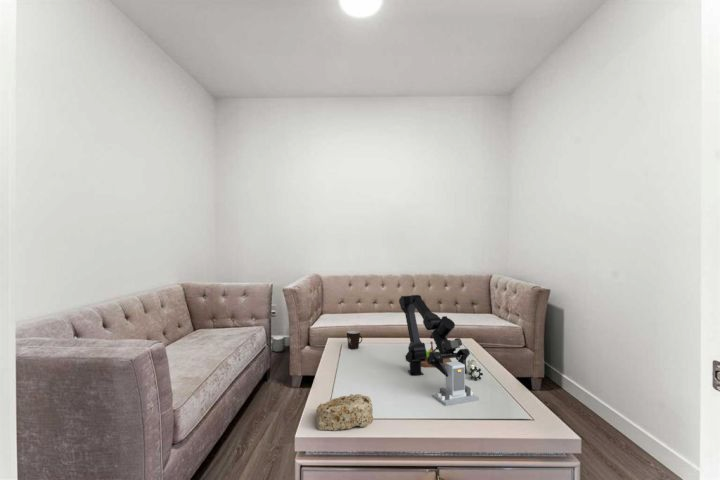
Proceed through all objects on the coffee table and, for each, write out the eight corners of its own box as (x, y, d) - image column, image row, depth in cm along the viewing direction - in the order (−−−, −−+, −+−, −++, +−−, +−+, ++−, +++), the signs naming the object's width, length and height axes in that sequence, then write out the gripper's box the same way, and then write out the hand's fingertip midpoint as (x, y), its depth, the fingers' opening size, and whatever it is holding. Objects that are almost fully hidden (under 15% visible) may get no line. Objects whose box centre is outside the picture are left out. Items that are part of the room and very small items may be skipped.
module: (445, 391, 153) (445, 362, 154) (457, 389, 156) (457, 361, 156) (453, 396, 148) (453, 366, 148) (465, 394, 150) (465, 365, 151)
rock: (317, 438, 122) (314, 406, 125) (317, 427, 136) (314, 399, 138) (377, 426, 125) (373, 395, 128) (371, 417, 139) (367, 390, 142)
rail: (445, 406, 145) (445, 395, 145) (432, 396, 154) (432, 386, 154) (478, 400, 150) (478, 389, 150) (463, 391, 160) (463, 381, 160)
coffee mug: (345, 346, 232) (345, 331, 233) (357, 345, 235) (357, 330, 235) (349, 351, 221) (349, 335, 222) (363, 350, 224) (363, 334, 224)
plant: (448, 358, 210) (448, 338, 210) (453, 369, 190) (453, 347, 191) (413, 356, 212) (413, 337, 212) (414, 367, 193) (414, 346, 193)
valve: (464, 372, 185) (468, 380, 173) (464, 359, 185) (468, 366, 173) (477, 372, 184) (482, 381, 172) (477, 359, 184) (482, 367, 172)
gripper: (430, 333, 153) (445, 368, 143) (467, 330, 160) (484, 362, 149) (420, 347, 160) (434, 381, 150) (456, 343, 167) (472, 375, 156)
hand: (457, 375), depth 151 cm, fingers open, 9 cm apart
